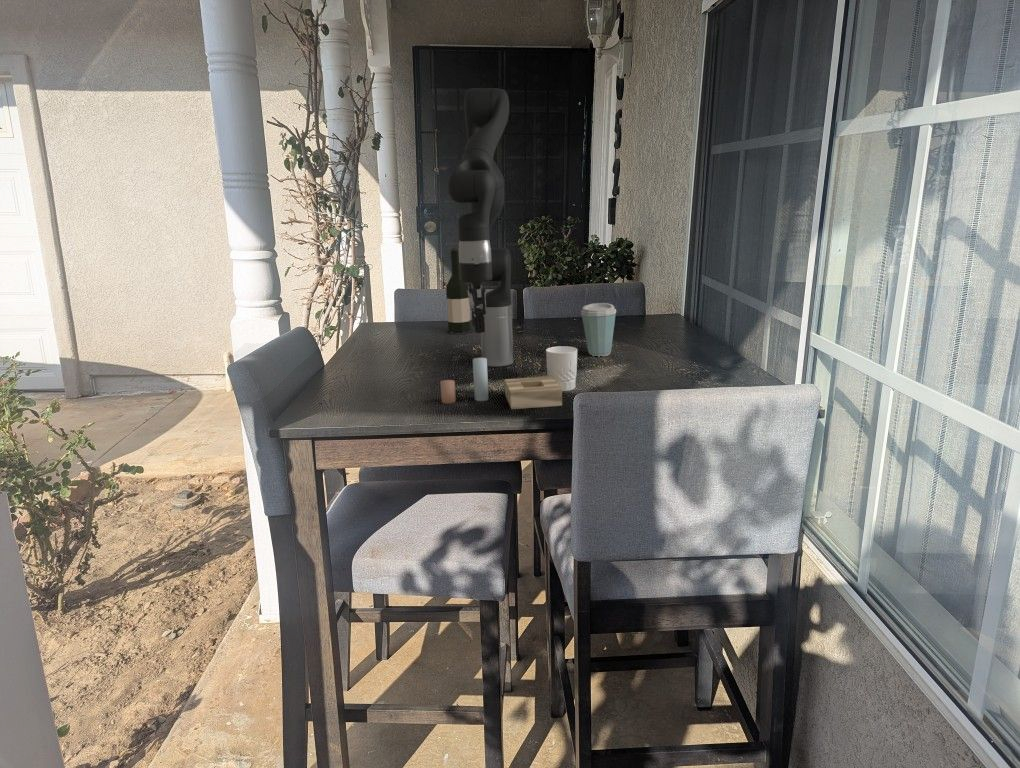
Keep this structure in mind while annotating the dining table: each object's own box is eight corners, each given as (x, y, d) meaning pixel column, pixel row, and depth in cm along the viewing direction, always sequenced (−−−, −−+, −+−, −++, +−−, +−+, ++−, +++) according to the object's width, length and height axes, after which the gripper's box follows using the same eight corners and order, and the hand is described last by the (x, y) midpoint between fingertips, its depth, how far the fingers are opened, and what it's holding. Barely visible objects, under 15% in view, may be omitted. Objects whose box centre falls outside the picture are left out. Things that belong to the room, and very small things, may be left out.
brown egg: (441, 400, 174) (440, 380, 173) (455, 399, 174) (454, 379, 173) (441, 403, 171) (440, 383, 170) (456, 402, 171) (454, 382, 170)
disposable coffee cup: (615, 358, 209) (615, 308, 205) (578, 358, 211) (578, 308, 208) (617, 350, 219) (617, 302, 215) (582, 350, 221) (582, 302, 218)
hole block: (504, 395, 176) (504, 379, 175) (552, 391, 178) (552, 376, 176) (511, 409, 165) (510, 392, 164) (562, 405, 166) (561, 389, 165)
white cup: (575, 383, 185) (575, 345, 182) (579, 391, 177) (579, 352, 174) (545, 384, 184) (544, 346, 182) (548, 393, 177) (547, 353, 174)
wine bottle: (446, 331, 261) (441, 247, 253) (468, 328, 263) (464, 246, 255) (451, 335, 253) (446, 249, 245) (473, 332, 255) (469, 248, 247)
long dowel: (474, 397, 175) (472, 358, 172) (487, 396, 175) (486, 357, 173) (475, 401, 172) (473, 361, 169) (489, 400, 172) (487, 360, 170)
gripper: (457, 258, 171) (460, 325, 175) (461, 263, 158) (464, 335, 162) (488, 257, 172) (491, 323, 176) (494, 262, 158) (497, 333, 163)
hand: (478, 329), depth 169 cm, fingers open, 8 cm apart
